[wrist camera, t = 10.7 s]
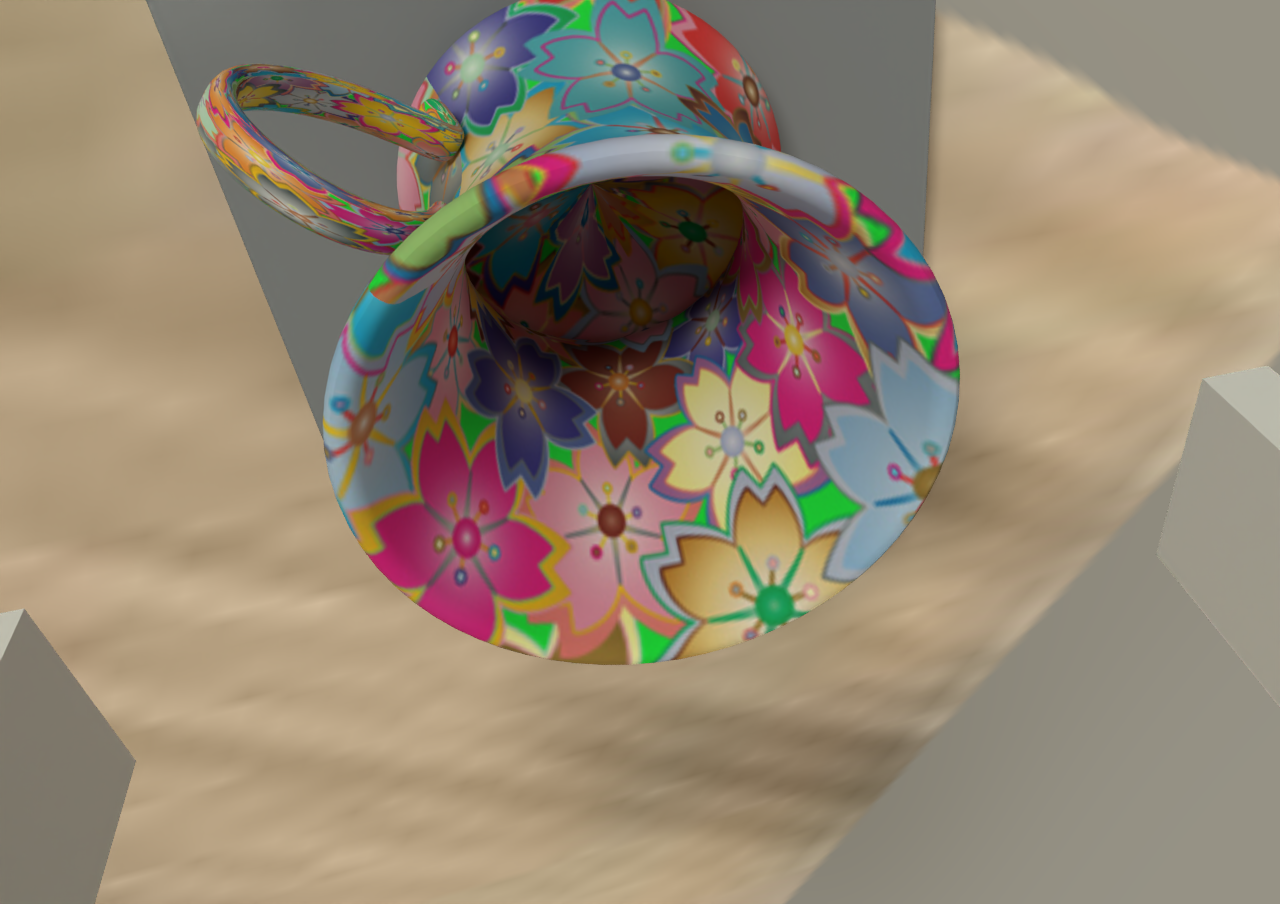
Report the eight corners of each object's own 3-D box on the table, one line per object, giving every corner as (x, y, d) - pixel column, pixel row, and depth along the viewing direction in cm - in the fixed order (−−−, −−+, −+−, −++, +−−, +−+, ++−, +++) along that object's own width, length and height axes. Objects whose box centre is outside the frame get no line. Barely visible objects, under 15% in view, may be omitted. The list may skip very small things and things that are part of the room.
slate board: (343, 458, 28) (339, 480, 27) (75, -224, 18) (57, -220, 18) (904, 358, 29) (917, 377, 28) (934, -364, 19) (953, -366, 18)
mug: (870, 131, 23) (1089, 382, 15) (623, 408, 27) (688, 731, 19) (415, -264, 18) (359, -217, 10) (186, 151, 22) (1, 446, 13)
